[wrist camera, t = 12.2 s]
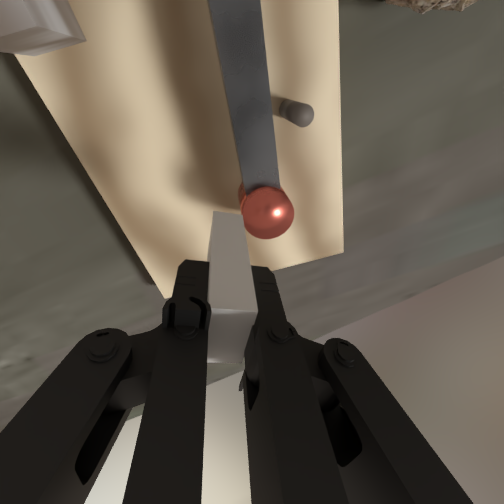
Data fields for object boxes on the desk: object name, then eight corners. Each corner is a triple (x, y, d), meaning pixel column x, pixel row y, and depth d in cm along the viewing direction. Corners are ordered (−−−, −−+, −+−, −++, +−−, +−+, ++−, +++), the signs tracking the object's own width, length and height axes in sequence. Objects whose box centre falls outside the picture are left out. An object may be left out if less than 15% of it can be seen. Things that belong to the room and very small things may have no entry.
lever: (247, -128, 12) (260, -214, 8) (283, 209, 22) (296, 233, 18) (171, -113, 12) (154, -192, 8) (242, 217, 22) (247, 243, 18)
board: (310, -363, 10) (434, -937, 4) (335, 241, 27) (368, 285, 22) (-126, -218, 11) (-517, -561, 5) (167, 285, 28) (155, 338, 22)
